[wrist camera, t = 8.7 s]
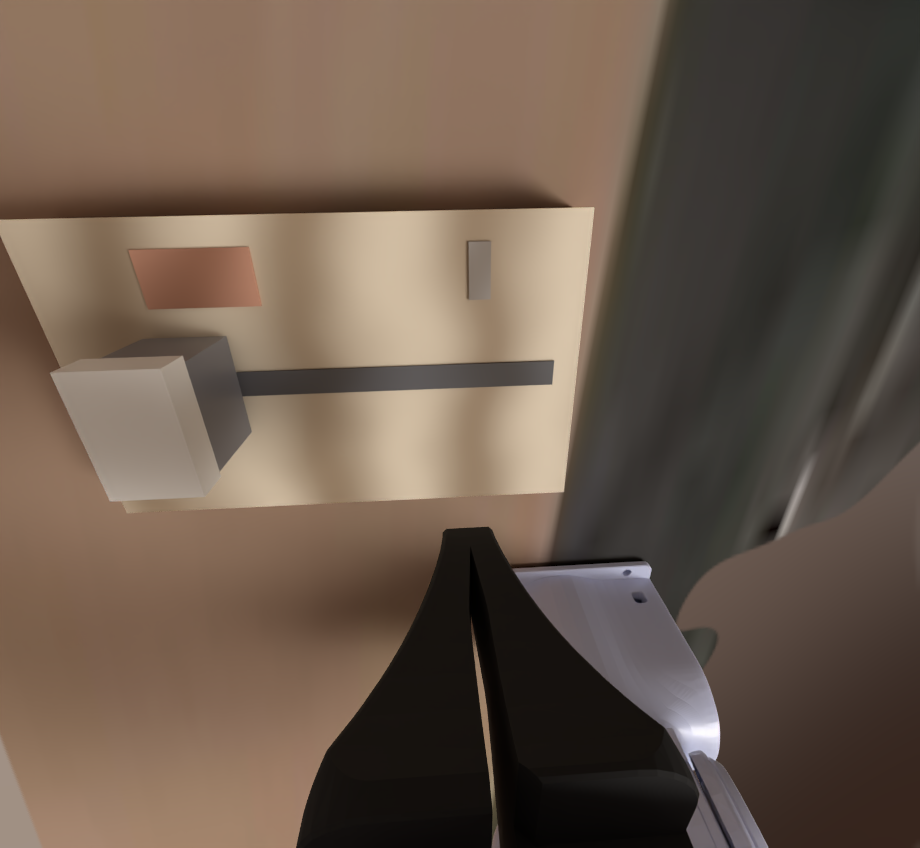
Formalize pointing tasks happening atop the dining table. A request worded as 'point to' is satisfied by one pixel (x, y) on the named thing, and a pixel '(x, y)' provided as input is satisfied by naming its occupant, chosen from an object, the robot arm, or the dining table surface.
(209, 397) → the fader
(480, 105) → the dining table surface
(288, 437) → the console
